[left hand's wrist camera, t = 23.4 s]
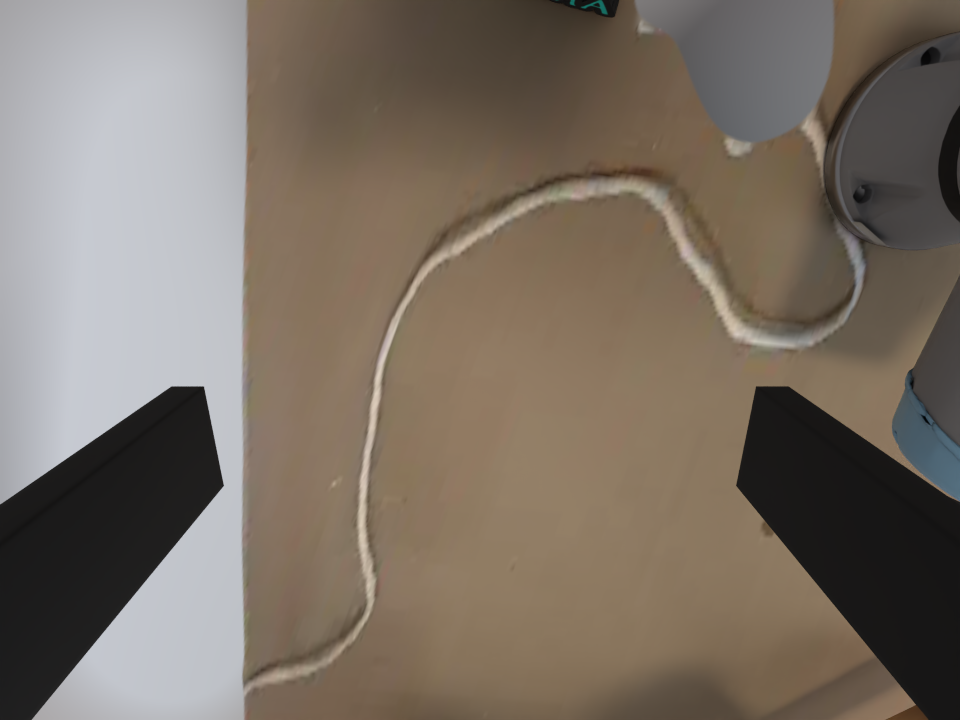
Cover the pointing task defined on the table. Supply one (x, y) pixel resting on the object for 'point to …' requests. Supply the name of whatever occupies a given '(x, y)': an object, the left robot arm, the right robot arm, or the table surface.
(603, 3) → the decorative sign
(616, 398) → the table surface
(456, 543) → the table surface
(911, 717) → the bar
